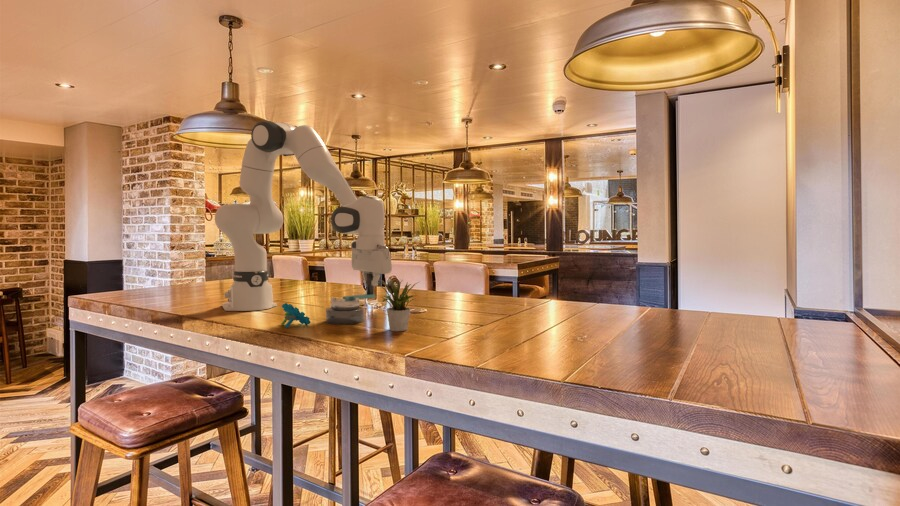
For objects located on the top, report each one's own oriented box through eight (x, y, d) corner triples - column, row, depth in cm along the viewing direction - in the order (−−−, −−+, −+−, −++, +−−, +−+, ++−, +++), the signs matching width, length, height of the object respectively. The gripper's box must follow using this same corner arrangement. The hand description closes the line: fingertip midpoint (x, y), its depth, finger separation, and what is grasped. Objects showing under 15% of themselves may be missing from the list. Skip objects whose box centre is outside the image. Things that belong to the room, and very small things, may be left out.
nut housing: (319, 320, 159) (319, 307, 159) (352, 316, 167) (352, 303, 167) (336, 326, 150) (336, 312, 150) (370, 321, 158) (370, 308, 158)
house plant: (360, 331, 142) (360, 276, 141) (384, 323, 155) (384, 272, 154) (404, 336, 137) (404, 278, 136) (425, 327, 150) (425, 274, 149)
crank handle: (340, 311, 152) (340, 277, 152) (325, 308, 158) (325, 275, 158) (381, 306, 163) (381, 274, 163) (365, 303, 170) (365, 272, 169)
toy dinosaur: (317, 321, 149) (293, 300, 144) (305, 337, 146) (280, 316, 141) (301, 321, 157) (278, 301, 153) (289, 336, 154) (266, 316, 150)
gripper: (396, 245, 158) (396, 287, 159) (364, 243, 174) (363, 282, 174) (380, 245, 154) (379, 289, 155) (348, 243, 170) (348, 283, 170)
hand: (371, 285), depth 165 cm, fingers open, 3 cm apart
